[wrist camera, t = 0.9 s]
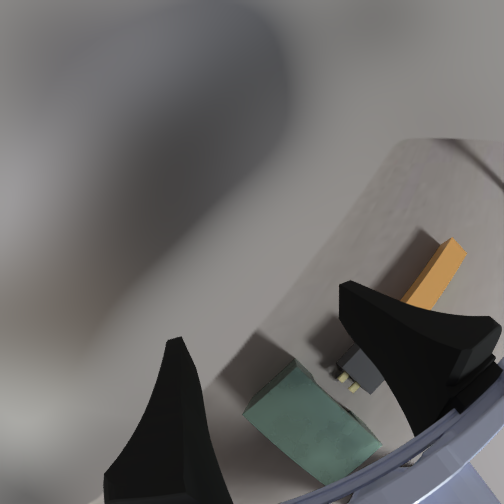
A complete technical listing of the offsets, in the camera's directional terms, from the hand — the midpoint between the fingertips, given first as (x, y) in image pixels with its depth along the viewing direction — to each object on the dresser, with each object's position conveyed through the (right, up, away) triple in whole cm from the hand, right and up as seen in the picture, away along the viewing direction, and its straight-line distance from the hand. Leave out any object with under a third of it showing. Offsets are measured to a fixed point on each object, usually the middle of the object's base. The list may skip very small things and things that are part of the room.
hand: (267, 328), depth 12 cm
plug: (+15, -3, +15) cm, 22 cm away
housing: (+5, -13, +14) cm, 20 cm away
